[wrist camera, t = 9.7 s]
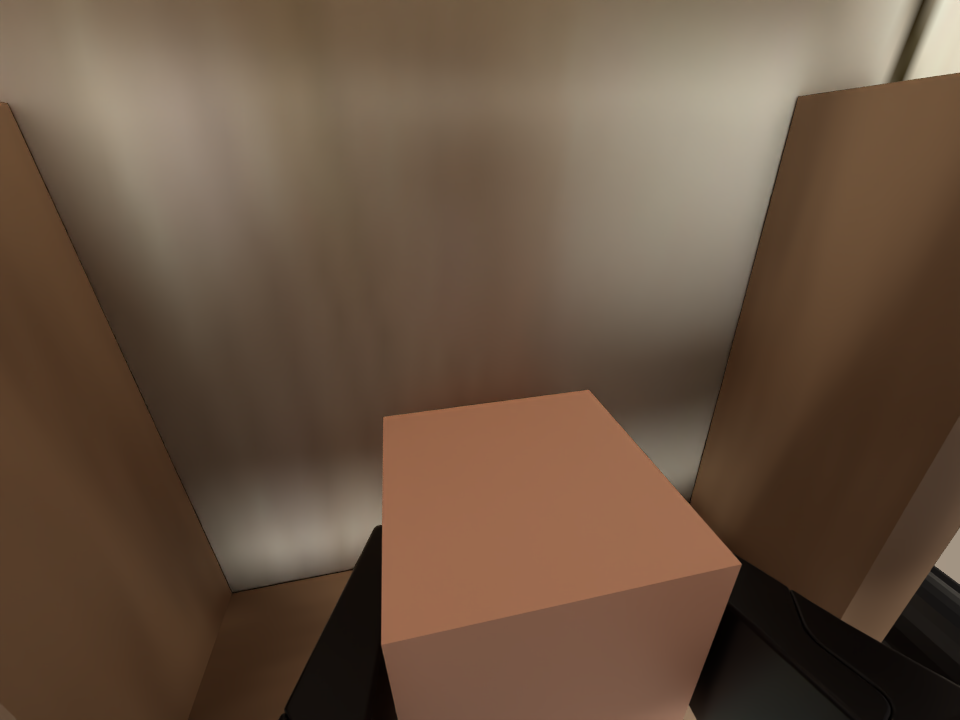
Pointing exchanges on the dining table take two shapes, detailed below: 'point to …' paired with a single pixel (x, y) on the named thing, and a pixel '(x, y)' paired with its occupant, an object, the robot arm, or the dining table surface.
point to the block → (541, 567)
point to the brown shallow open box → (716, 496)
